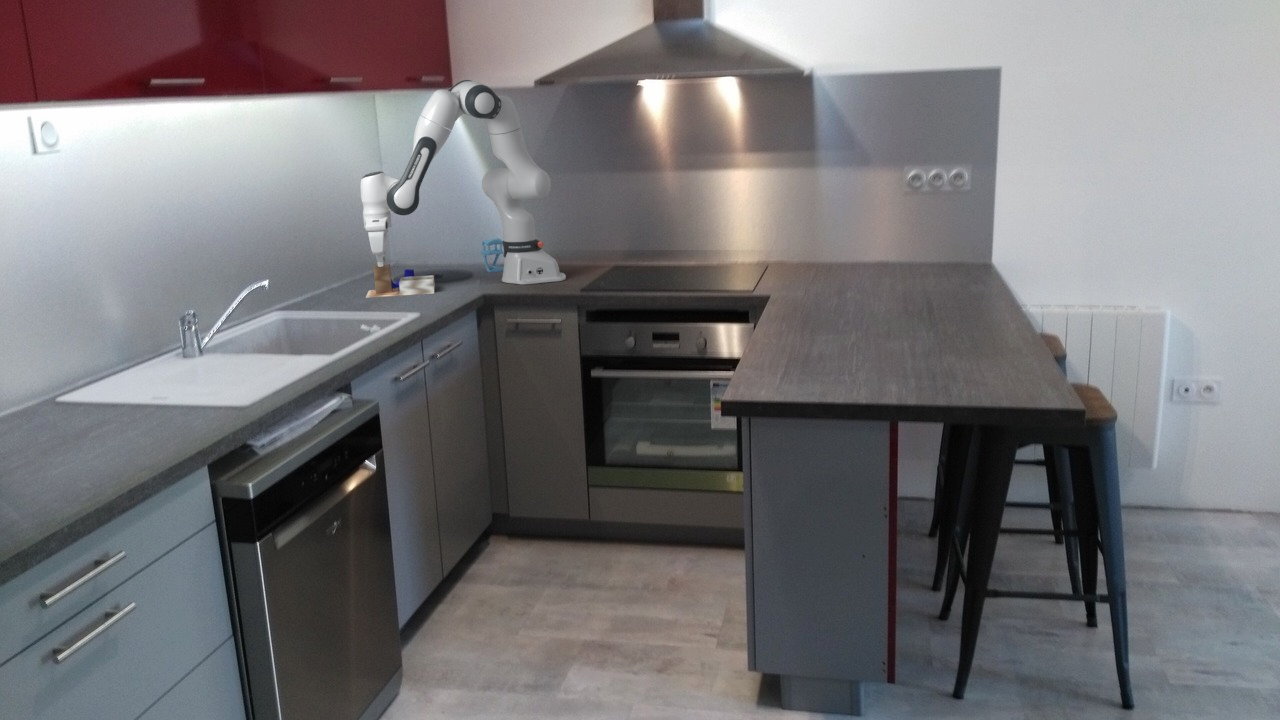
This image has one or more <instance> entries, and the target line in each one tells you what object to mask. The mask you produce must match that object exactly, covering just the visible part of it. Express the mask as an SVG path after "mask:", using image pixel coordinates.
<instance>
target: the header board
mask: <svg viewBox="0 0 1280 720" xmlns="http://www.w3.org/2000/svg"><path fill="white" fill-rule="evenodd" d="M399 279H400V281H399V280H398V281H399V287H398V288H392V293H378V294H376V290H375V289H371V290H370V289H369V290H368V291H367V294H366V296H365V298H366V299H367V298H380V297H398V296H413V295H430V294H435V290H436V289H435V288H436V287H435V275H433V274H432V275H417V276H415V275H414V276H413V277H404V276H401V277H400V278H399Z"/></svg>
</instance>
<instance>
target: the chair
mask: <svg viewBox="0 0 1280 720" xmlns="http://www.w3.org/2000/svg"><path fill="white" fill-rule="evenodd" d="M502 244H503V240H502V239H501V238H492V239H484V240H482V242H481V245H482V247H483V248H482V249H483V250H482V251H481V252H480V253H481V255H482V257H483V261H484V264H485V265H484V266H485V270H486V272H487V273H497V272H503V270H504V266H496V264H497V261H498V259H499V256H500V255H503V248H502ZM485 245H486V246H485ZM493 245H494V249H491V247H490V246H493ZM497 245H499V249H498V247H497ZM486 247H487V250H486ZM492 255H495V257H494V260H493V263H492V265H491V269H490V267H489V264H488V259H487V256H492Z"/></svg>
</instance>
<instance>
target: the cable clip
mask: <svg viewBox="0 0 1280 720" xmlns="http://www.w3.org/2000/svg"><path fill="white" fill-rule="evenodd" d="M413 276H415V271H414V269H410V268H407V269H404V274H403V277H413ZM391 280H392V289H398V288H399V281H400V278H399V279H398V281H397V282H395V283H394V281H393V279H392V278H391Z"/></svg>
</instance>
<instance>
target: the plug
mask: <svg viewBox="0 0 1280 720" xmlns="http://www.w3.org/2000/svg"><path fill="white" fill-rule="evenodd" d="M372 267H373V278H374V279H373V280H374V287H375V289H374V290H376V294H378V293H392V289H393V288H392V281H393V279H392V273H391V264H390V263H389V264H384V265H383V266H382V267H378V264H374V265H373V266H372ZM391 279H392V280H391Z"/></svg>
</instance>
